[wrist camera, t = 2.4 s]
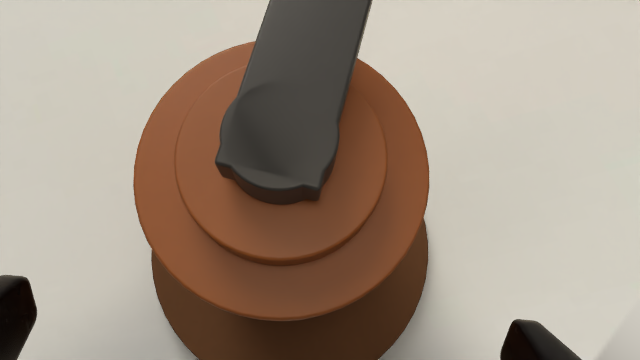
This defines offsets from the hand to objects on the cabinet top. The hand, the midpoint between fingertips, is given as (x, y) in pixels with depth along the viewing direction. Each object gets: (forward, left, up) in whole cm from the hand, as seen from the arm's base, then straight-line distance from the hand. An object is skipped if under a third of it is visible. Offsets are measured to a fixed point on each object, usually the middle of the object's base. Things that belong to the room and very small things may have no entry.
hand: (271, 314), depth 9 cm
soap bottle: (+3, +1, -9) cm, 10 cm away
